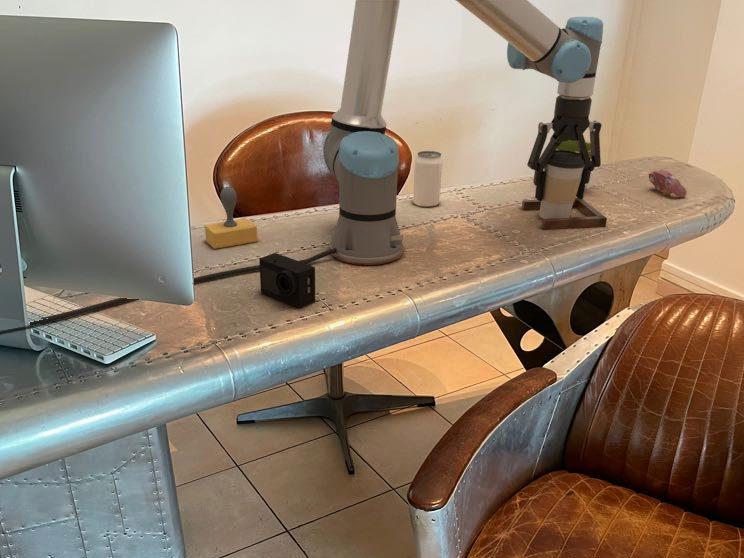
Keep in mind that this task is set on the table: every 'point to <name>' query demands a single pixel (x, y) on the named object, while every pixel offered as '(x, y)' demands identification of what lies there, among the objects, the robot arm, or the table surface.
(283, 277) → the digital camera
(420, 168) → the can
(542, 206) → the coffee cup
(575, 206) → the frame
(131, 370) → the table surface
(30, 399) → the table surface
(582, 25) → the robot arm
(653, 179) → the video game controller
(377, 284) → the table surface
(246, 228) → the rubber stamp
